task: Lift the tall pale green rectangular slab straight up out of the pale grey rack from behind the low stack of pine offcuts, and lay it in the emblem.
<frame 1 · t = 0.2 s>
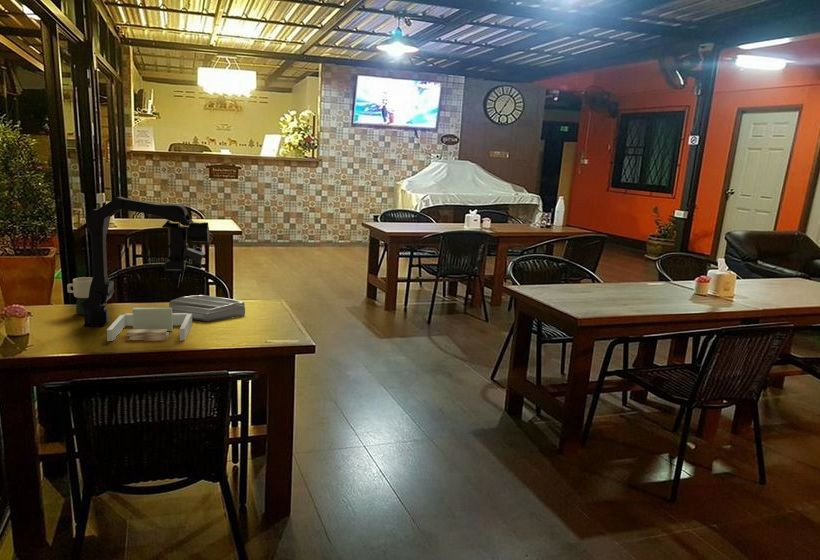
hand: (178, 285, 204), 14 cm above the table, tool pointing down, fingers open, 9 cm apart
rack: (152, 332, 196), on the table
offcut stack: (148, 339, 190), on the table
emblem: (207, 314, 225), on the table
character mug: (85, 314, 214), on the table
pale green rectangular slab: (153, 331, 198), on the table
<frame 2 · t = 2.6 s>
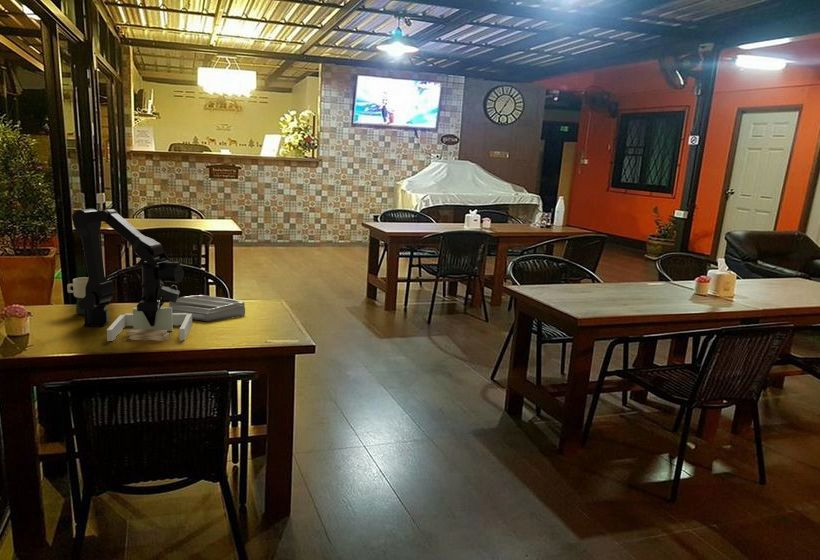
hand: (153, 325, 198), 2 cm above the table, tool pointing down, fingers closed on pale green rectangular slab, 2 cm apart
pale green rectangular slab: (153, 331, 198), on the table, touching gripper
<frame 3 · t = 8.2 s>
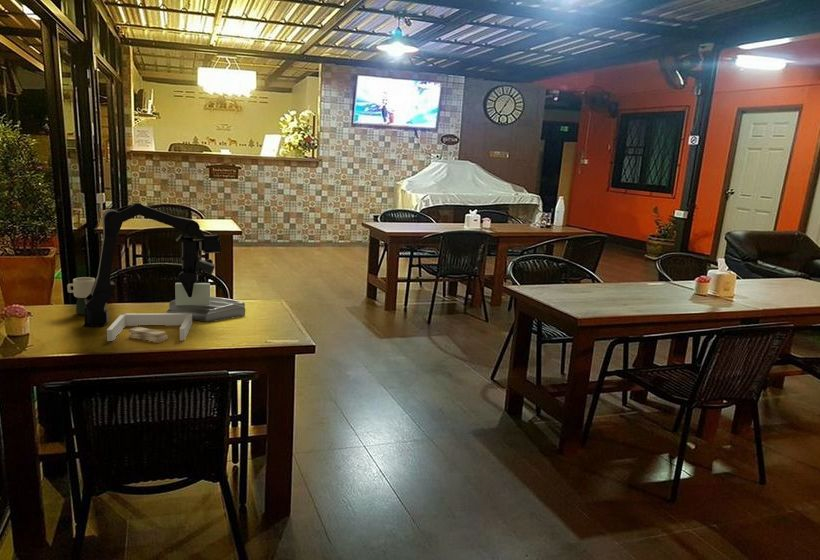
hand: (191, 295, 217), 8 cm above the table, tool pointing down, fingers open, 6 cm apart
pale green rectangular slab: (193, 304, 218), point 4 cm above the table
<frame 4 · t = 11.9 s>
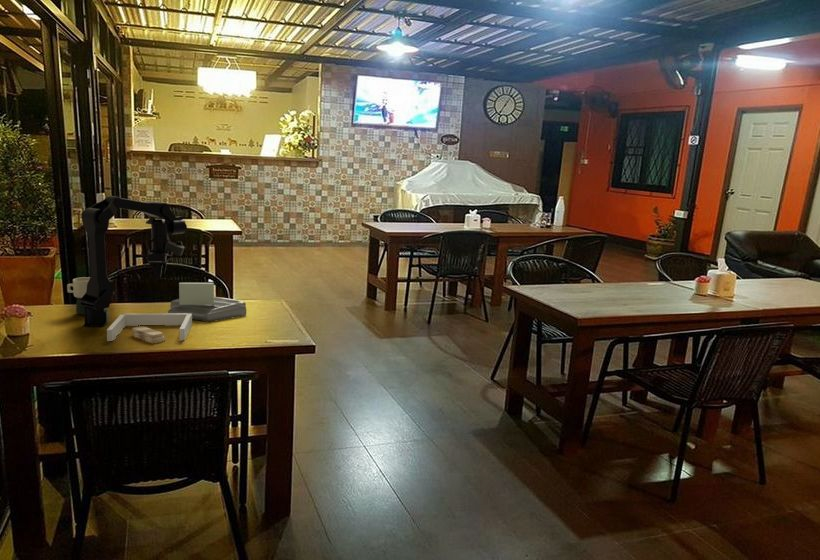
hand: (161, 276, 223), 13 cm above the table, tool pointing down, fingers open, 9 cm apart
emblem: (208, 314, 225), on the table, touching pale green rectangular slab
pale green rectangular slab: (196, 304, 219), point 4 cm above the table, touching emblem
at the end: pale green rectangular slab inside the target area in the emblem (5.5 cm from its centre), point 5.1 cm above the emblem's base; pale green rectangular slab touching emblem; offcut stack moved 0.4 cm from its start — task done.
